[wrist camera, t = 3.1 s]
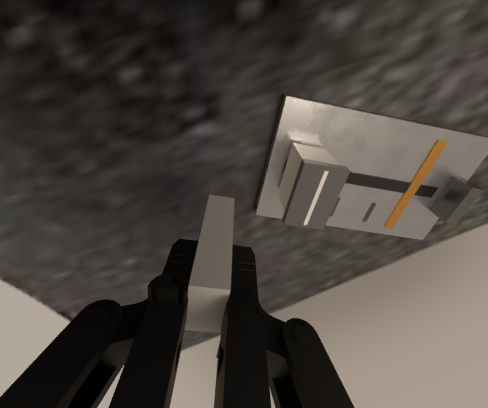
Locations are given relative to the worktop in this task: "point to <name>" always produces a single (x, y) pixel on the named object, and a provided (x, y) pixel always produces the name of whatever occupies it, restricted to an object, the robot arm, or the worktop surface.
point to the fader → (310, 186)
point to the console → (379, 167)
